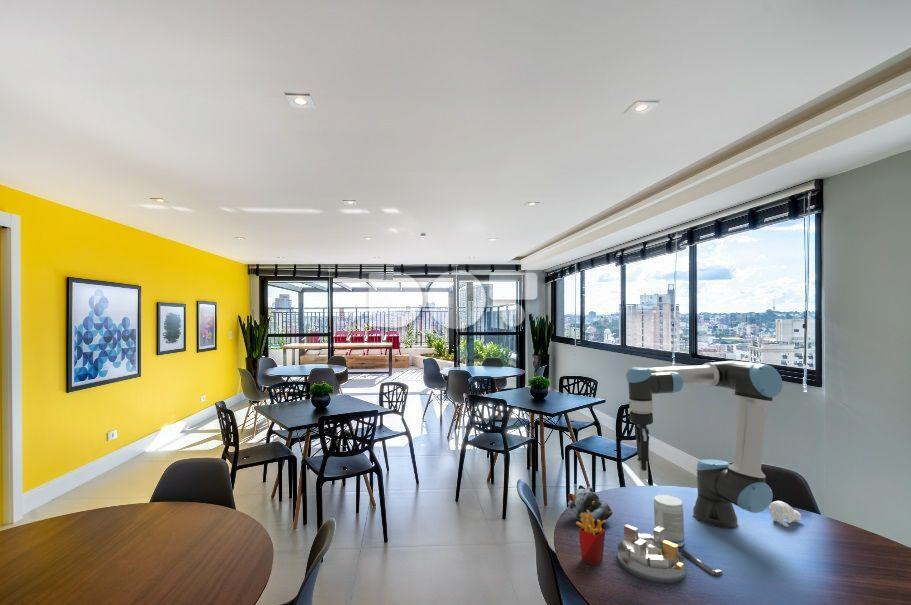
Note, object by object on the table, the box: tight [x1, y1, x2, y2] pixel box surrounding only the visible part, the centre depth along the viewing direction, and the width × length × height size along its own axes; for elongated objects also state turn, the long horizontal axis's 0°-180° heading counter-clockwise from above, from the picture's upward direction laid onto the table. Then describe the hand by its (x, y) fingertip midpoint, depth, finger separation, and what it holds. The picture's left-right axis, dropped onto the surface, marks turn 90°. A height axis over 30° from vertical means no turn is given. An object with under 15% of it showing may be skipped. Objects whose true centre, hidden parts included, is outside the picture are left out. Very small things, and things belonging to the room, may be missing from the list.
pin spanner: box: [680, 548, 723, 577], centre depth 134 cm, size 13×3×2 cm, turn 15°
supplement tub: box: [653, 494, 685, 548], centre depth 148 cm, size 10×10×15 cm
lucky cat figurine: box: [567, 484, 613, 527], centre depth 163 cm, size 15×12×14 cm
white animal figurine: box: [768, 500, 802, 528], centre depth 161 cm, size 6×8×12 cm
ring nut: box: [622, 523, 680, 569], centre depth 134 cm, size 16×16×6 cm
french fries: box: [575, 510, 607, 567], centre depth 136 cm, size 9×8×15 cm
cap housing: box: [617, 539, 686, 584], centre depth 134 cm, size 20×20×6 cm
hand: (643, 478), depth 144 cm, fingers closed
